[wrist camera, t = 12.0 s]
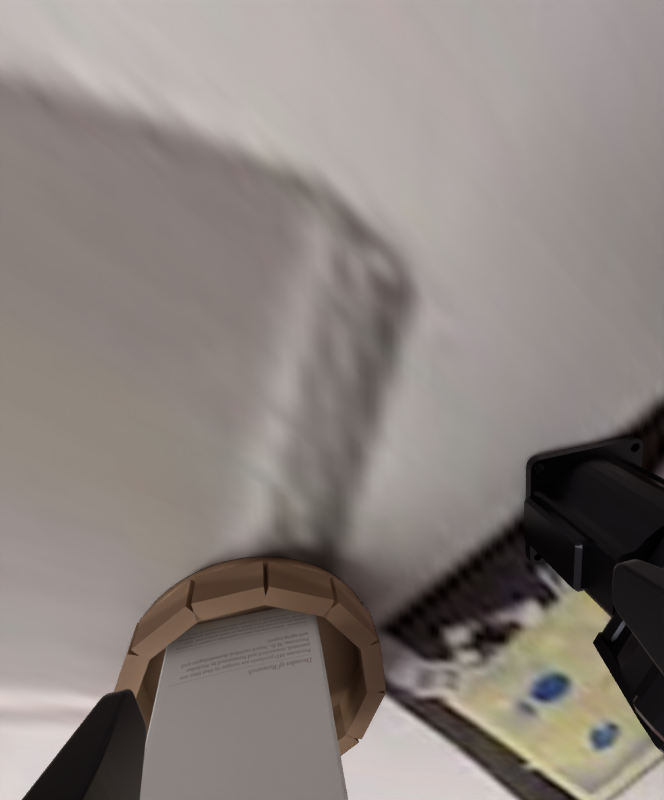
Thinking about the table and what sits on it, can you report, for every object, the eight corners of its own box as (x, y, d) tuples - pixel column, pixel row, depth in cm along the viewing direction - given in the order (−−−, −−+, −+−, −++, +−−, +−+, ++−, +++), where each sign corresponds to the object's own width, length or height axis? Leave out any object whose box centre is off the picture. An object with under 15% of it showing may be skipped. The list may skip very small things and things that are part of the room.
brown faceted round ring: (357, 532, 23) (369, 561, 20) (382, 712, 27) (394, 754, 24) (93, 591, 21) (74, 631, 19) (163, 773, 25) (155, 823, 23)
